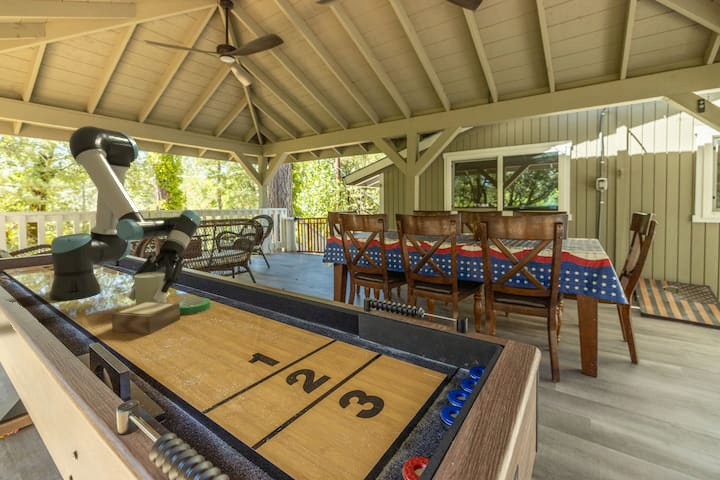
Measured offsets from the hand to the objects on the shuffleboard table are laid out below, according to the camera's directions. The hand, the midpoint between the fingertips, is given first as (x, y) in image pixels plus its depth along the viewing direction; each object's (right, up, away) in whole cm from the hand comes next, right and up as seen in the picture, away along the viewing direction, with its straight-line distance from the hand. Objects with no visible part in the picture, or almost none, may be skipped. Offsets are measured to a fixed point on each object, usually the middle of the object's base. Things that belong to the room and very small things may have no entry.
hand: (143, 299), depth 112 cm
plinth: (+9, -5, -12) cm, 16 cm away
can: (0, -4, +4) cm, 5 cm away
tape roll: (+15, -4, +3) cm, 16 cm away
